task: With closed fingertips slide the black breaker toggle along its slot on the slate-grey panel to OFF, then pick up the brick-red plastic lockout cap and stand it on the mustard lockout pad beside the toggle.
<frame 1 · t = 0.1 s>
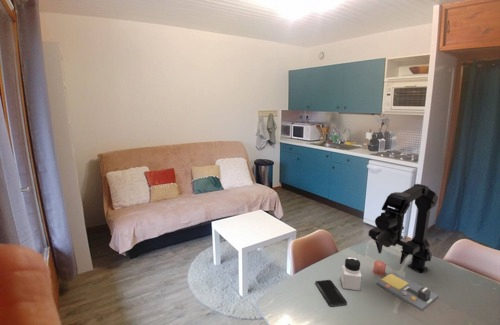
hand: (390, 258, 113), 15 cm above the table, fingers open, 9 cm apart
breaker: (424, 293, 109), point 3 cm above the table, slide at 0.0 cm
cap: (378, 272, 127), on the table
panel: (405, 290, 115), on the table
phone: (330, 294, 113), on the table
medicine bottle: (350, 284, 119), on the table
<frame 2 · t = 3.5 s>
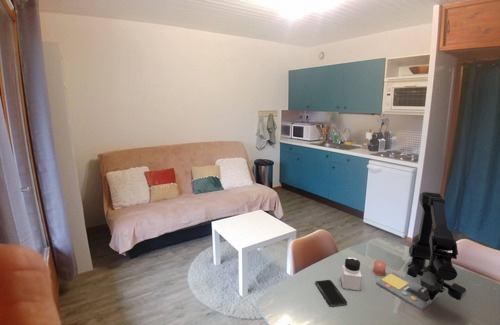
hand: (431, 299, 107), 2 cm above the table, fingers closed
breaker: (423, 293, 109), point 3 cm above the table, slide at 0.1 cm, touching gripper
everything else where it was.
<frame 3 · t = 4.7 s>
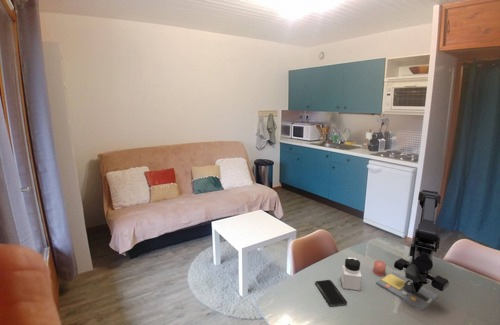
hand: (417, 291, 111), 2 cm above the table, fingers closed
breaker: (410, 285, 113), point 3 cm above the table, slide at 5.5 cm, touching gripper
everything else where it was.
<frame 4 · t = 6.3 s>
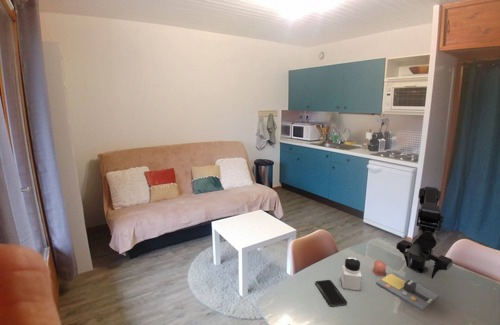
hand: (419, 272, 110), 11 cm above the table, fingers open, 9 cm apart
breaker: (410, 285, 113), point 3 cm above the table, slide at 5.5 cm
everything else where it was.
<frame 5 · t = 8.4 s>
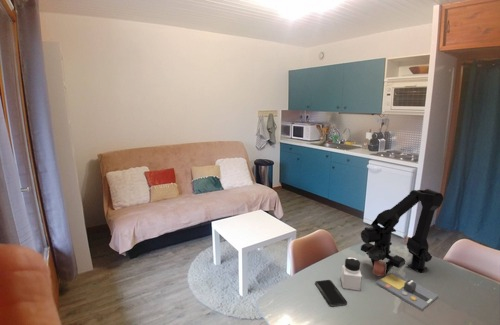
hand: (380, 270, 127), 1 cm above the table, fingers open, 6 cm apart
cap: (378, 272, 127), on the table, touching gripper
everything else where it was.
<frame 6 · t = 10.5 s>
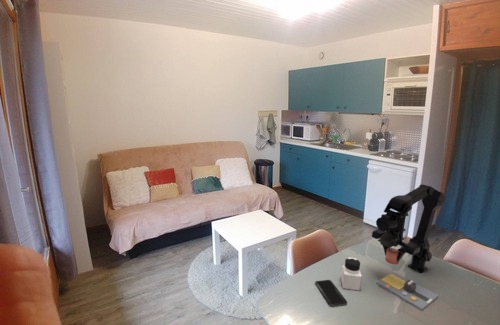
hand: (392, 258, 119), 11 cm above the table, fingers closed on cap, 5 cm apart
cap: (391, 260, 120), point 10 cm above the table, touching gripper
everything else where it was.
when the fingers open (3 cm above the table, at t = 12.5 s): cap stays where it is, resting on panel.
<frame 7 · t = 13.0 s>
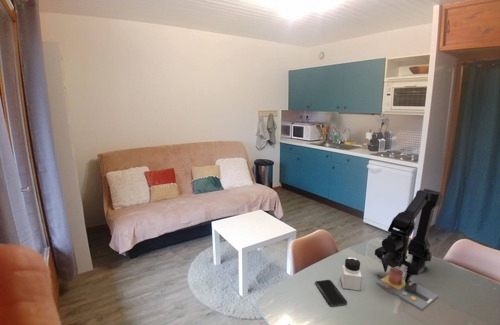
hand: (395, 277, 119), 3 cm above the table, fingers open, 9 cm apart
breaker: (410, 286, 113), point 3 cm above the table, slide at 5.2 cm, touching gripper
cap: (394, 281, 119), point 1 cm above the table, touching panel
everything else where it was.
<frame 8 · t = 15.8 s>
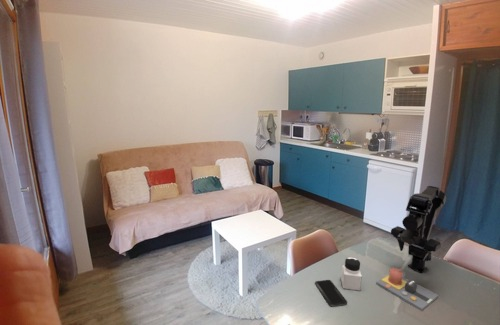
hand: (411, 255, 120), 12 cm above the table, fingers open, 9 cm apart
breaker: (410, 286, 113), point 3 cm above the table, slide at 5.2 cm
everything else where it was.
at the end: breaker slide at 5.2 cm; cap inside the target area (0.1 cm from its centre), point 1.4 cm above the table; cap tilted 0° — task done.
